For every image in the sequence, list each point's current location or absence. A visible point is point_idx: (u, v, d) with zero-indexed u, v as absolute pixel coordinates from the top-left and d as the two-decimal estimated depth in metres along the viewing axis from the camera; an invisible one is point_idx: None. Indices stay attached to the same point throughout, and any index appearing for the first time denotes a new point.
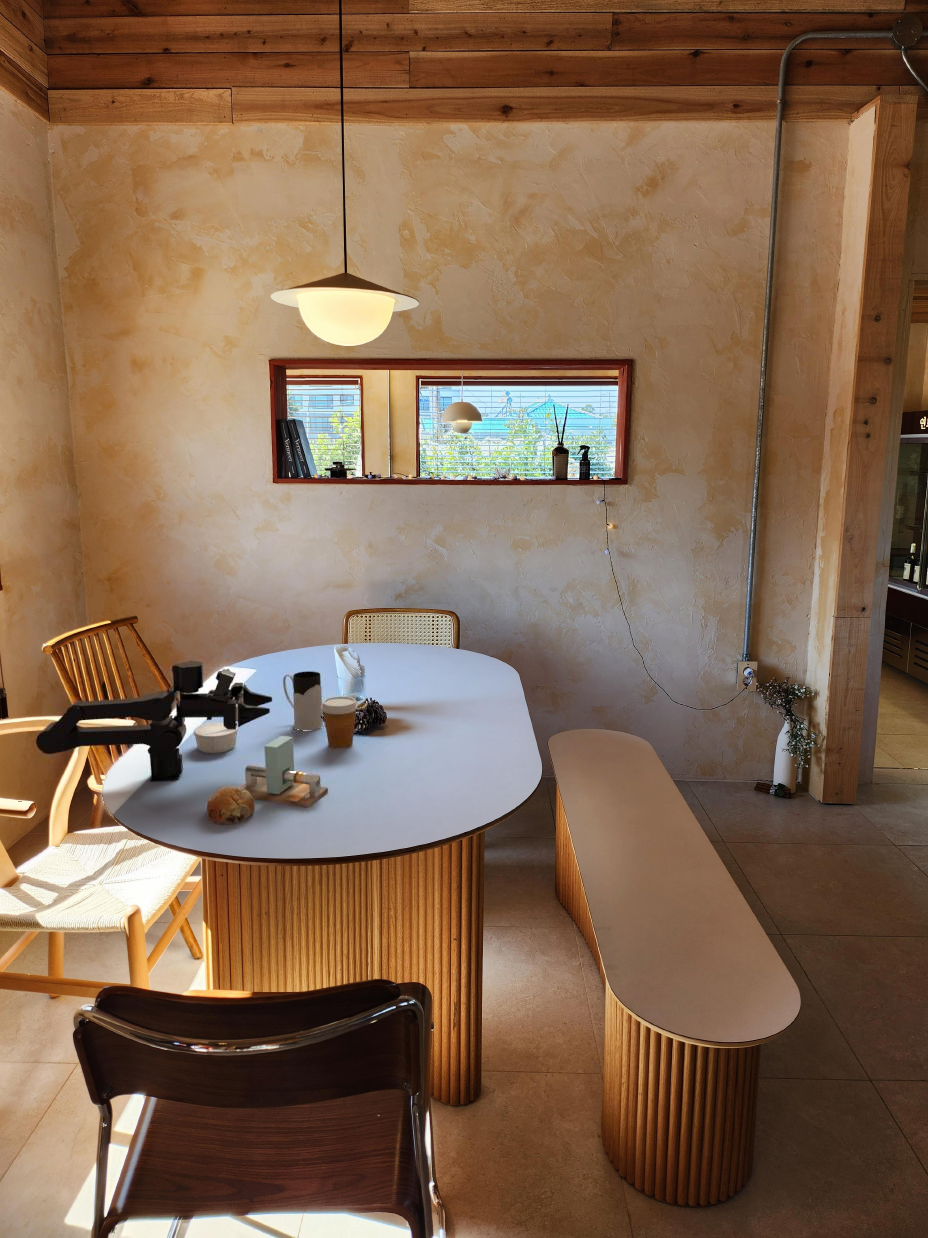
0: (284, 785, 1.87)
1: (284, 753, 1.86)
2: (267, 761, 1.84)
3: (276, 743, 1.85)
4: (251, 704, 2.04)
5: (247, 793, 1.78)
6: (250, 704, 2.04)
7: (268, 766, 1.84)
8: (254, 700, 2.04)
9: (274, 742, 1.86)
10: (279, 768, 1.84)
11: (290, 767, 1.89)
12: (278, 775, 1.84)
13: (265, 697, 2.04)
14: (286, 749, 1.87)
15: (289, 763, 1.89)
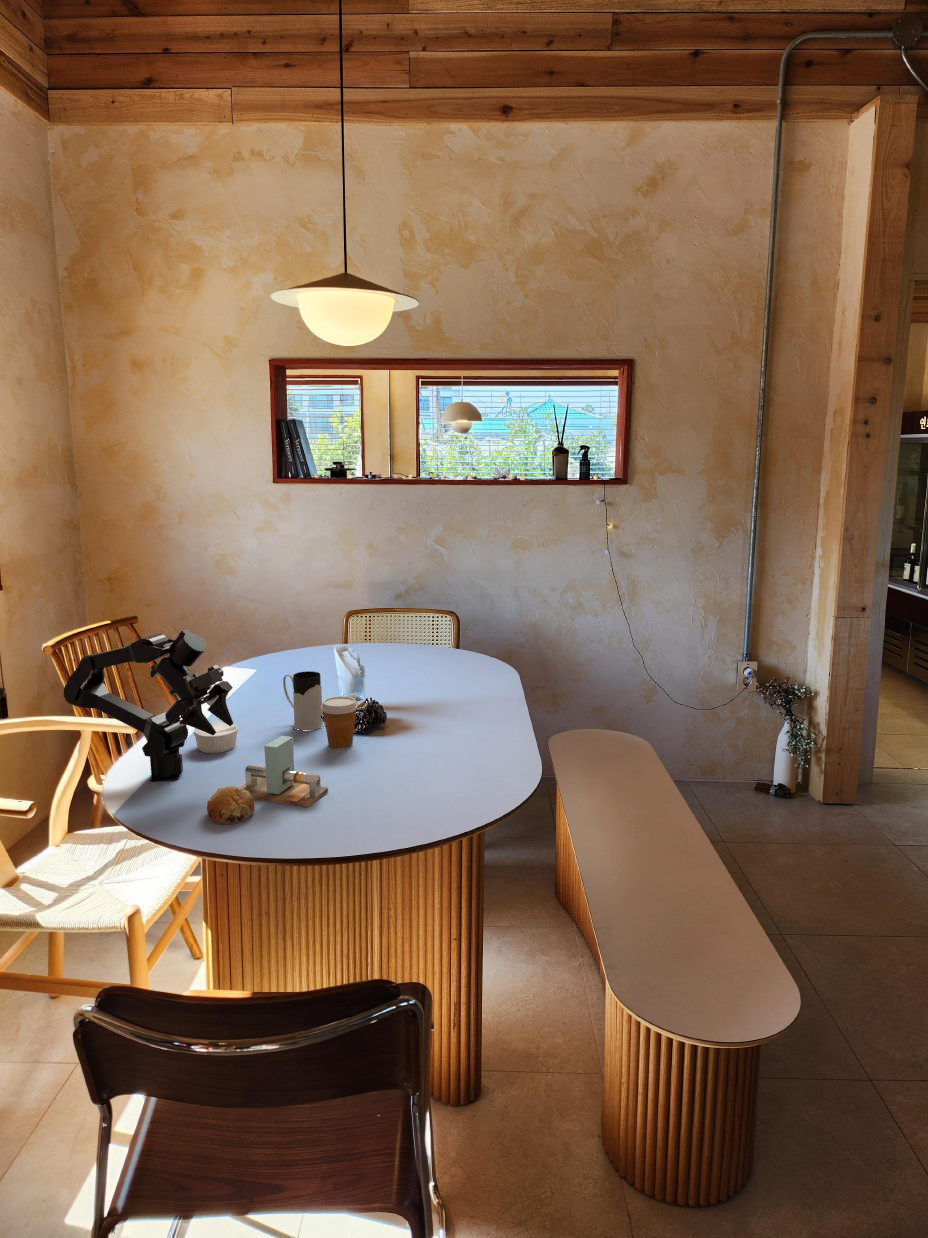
0: (284, 785, 1.87)
1: (284, 753, 1.86)
2: (267, 761, 1.84)
3: (276, 743, 1.85)
4: (215, 712, 1.95)
5: (247, 793, 1.78)
6: (215, 711, 1.95)
7: (268, 766, 1.84)
8: (219, 712, 1.95)
9: (274, 742, 1.86)
10: (279, 768, 1.84)
11: (290, 767, 1.89)
12: (278, 775, 1.84)
13: (228, 718, 1.94)
14: (286, 749, 1.87)
15: (289, 763, 1.89)
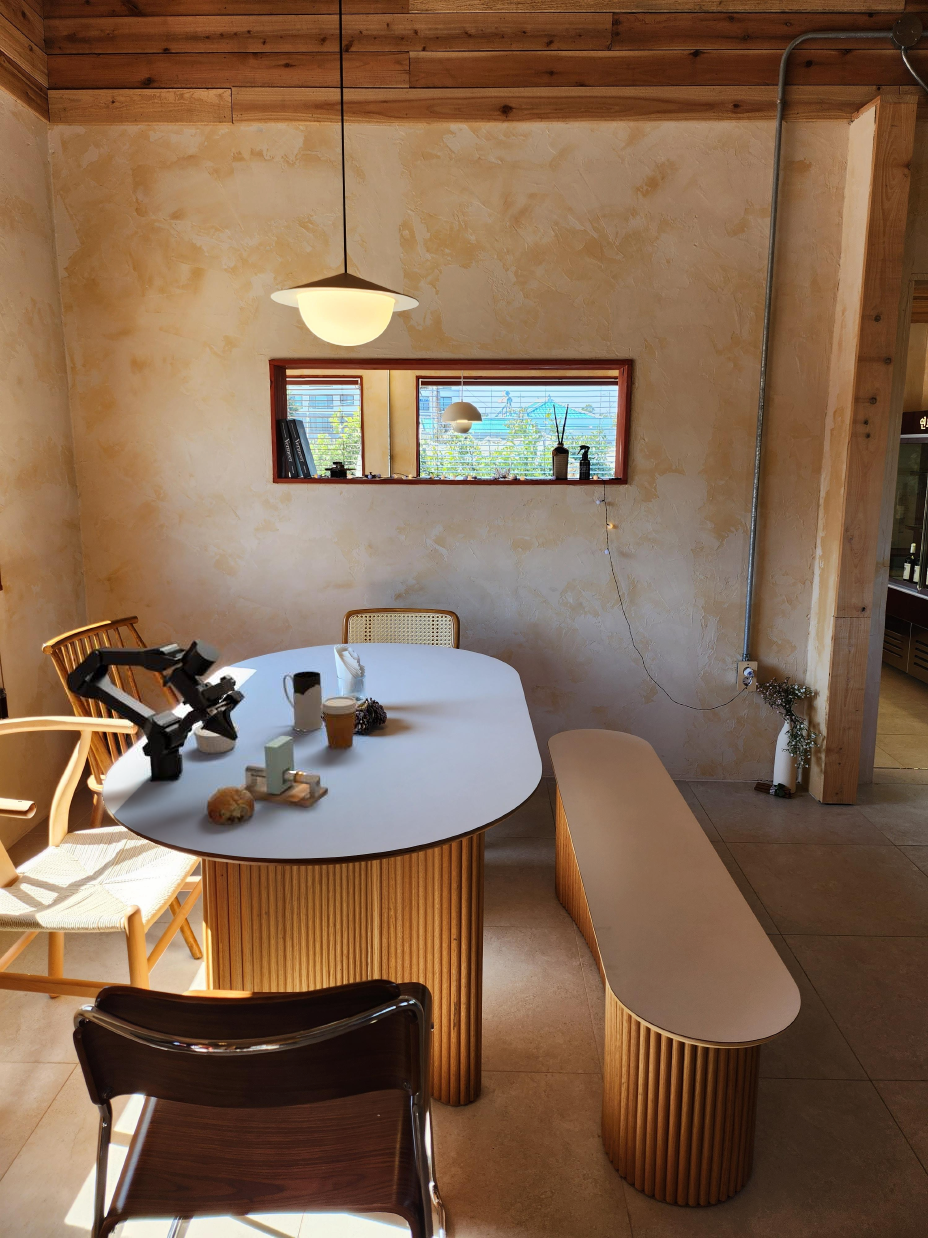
0: (284, 785, 1.87)
1: (284, 753, 1.86)
2: (267, 761, 1.84)
3: (276, 743, 1.85)
4: None
5: (247, 793, 1.78)
6: None
7: (268, 766, 1.84)
8: None
9: (274, 742, 1.86)
10: (279, 768, 1.84)
11: (290, 767, 1.89)
12: (278, 775, 1.84)
13: None
14: (286, 749, 1.87)
15: (289, 763, 1.89)
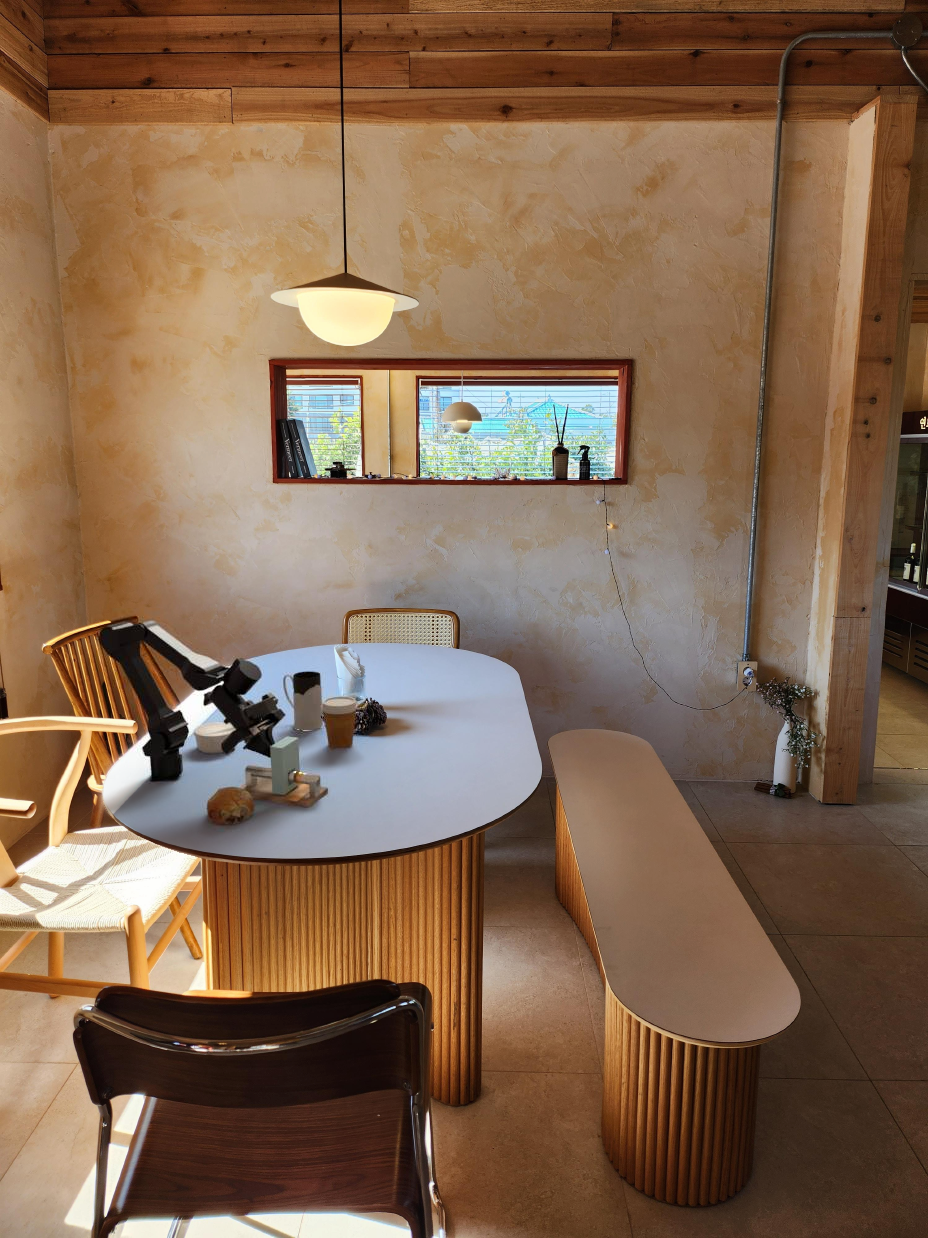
0: (290, 786, 1.87)
1: (289, 754, 1.86)
2: (273, 762, 1.84)
3: (281, 744, 1.85)
4: None
5: (247, 794, 1.77)
6: None
7: (274, 767, 1.84)
8: None
9: (280, 742, 1.86)
10: (284, 768, 1.84)
11: (296, 768, 1.89)
12: (283, 776, 1.84)
13: None
14: (292, 750, 1.86)
15: (295, 764, 1.88)
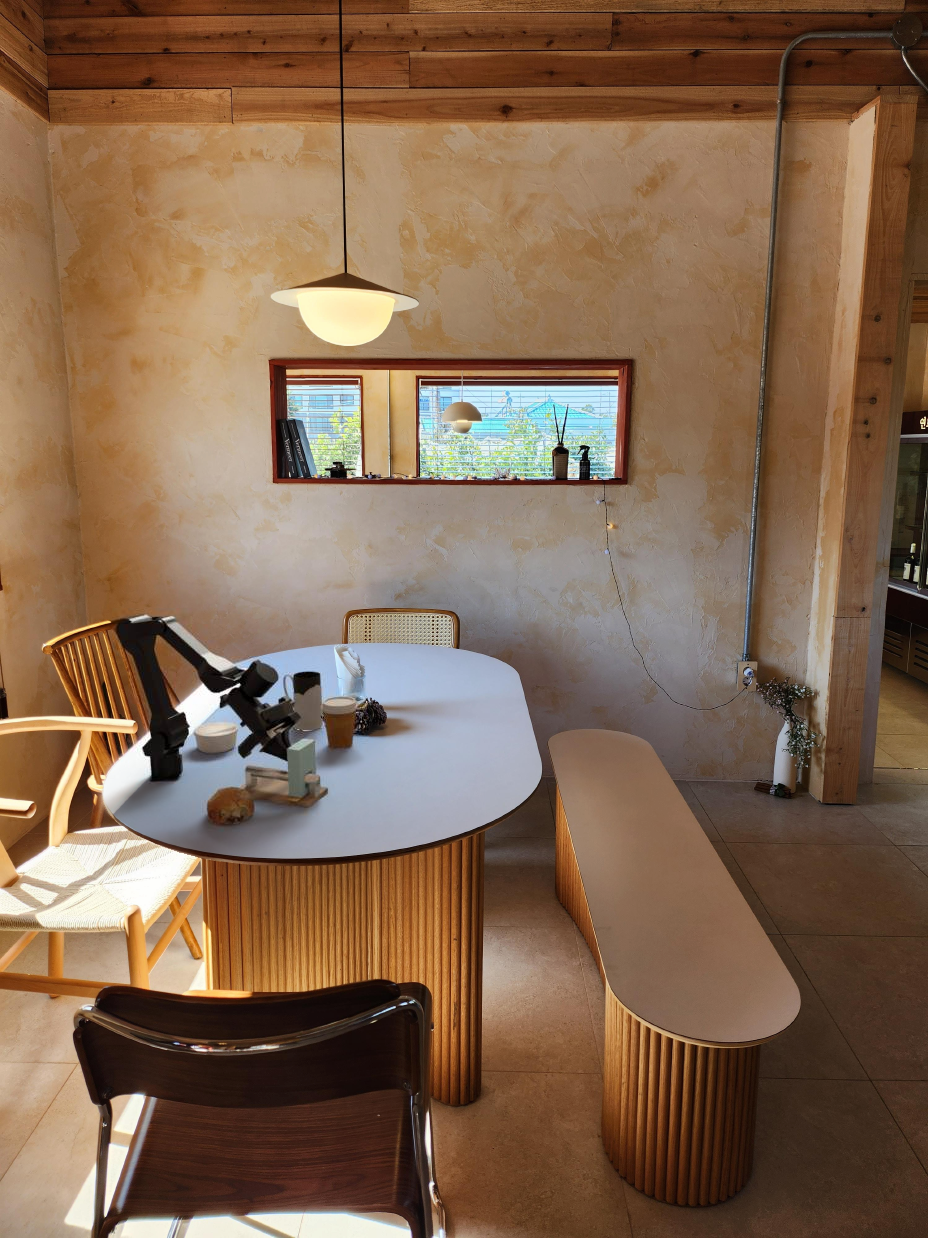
0: (306, 788, 1.85)
1: (306, 756, 1.84)
2: (289, 764, 1.82)
3: (298, 746, 1.84)
4: None
5: (247, 794, 1.77)
6: None
7: (290, 769, 1.83)
8: None
9: (297, 745, 1.84)
10: (301, 771, 1.83)
11: (312, 770, 1.87)
12: (300, 779, 1.82)
13: None
14: (308, 752, 1.85)
15: (311, 766, 1.87)
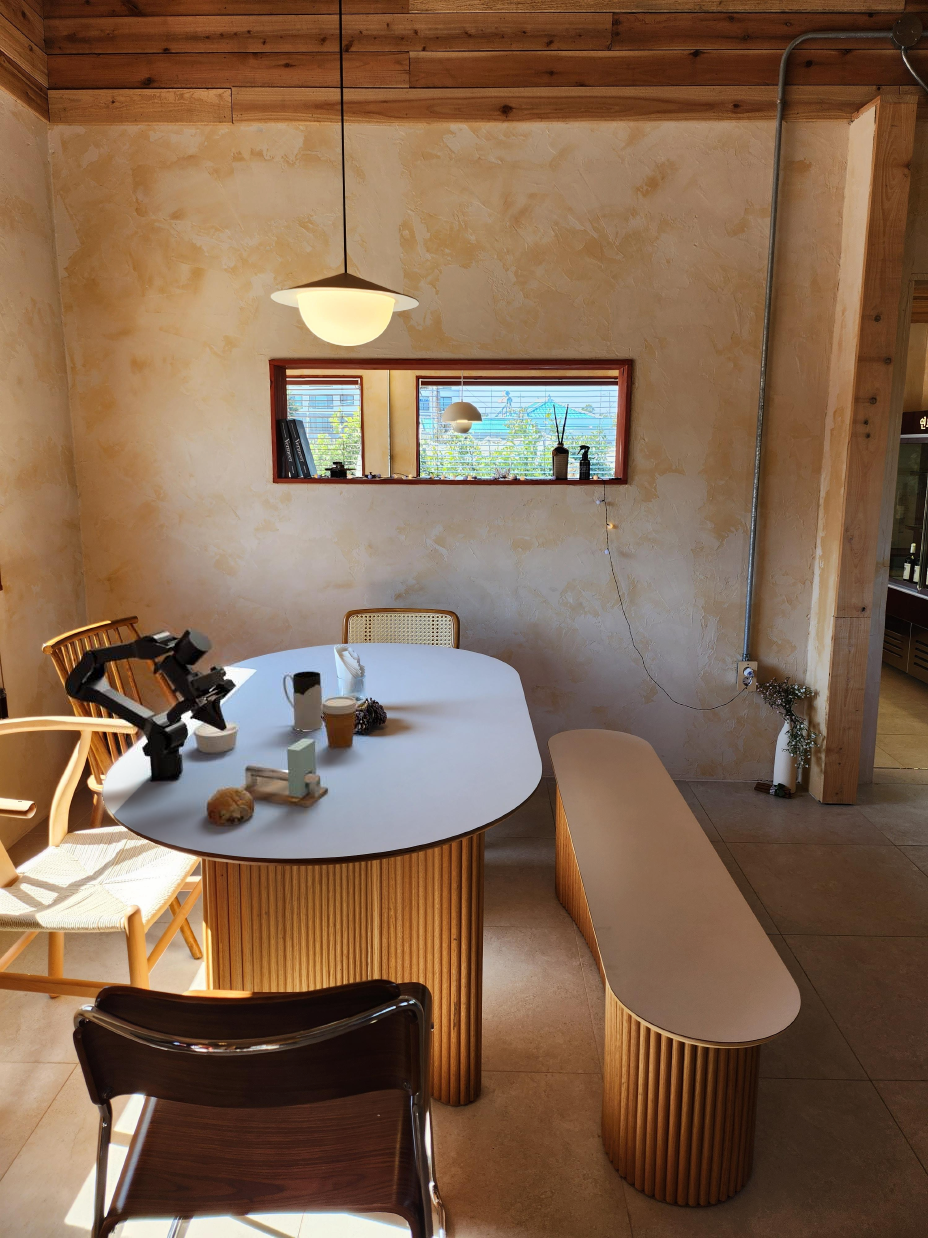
0: (306, 788, 1.85)
1: (306, 756, 1.84)
2: (289, 764, 1.82)
3: (298, 746, 1.84)
4: None
5: (247, 794, 1.77)
6: None
7: (290, 769, 1.83)
8: None
9: (297, 745, 1.84)
10: (301, 771, 1.83)
11: (312, 770, 1.87)
12: (300, 779, 1.82)
13: (221, 722, 1.91)
14: (308, 752, 1.85)
15: (311, 766, 1.87)
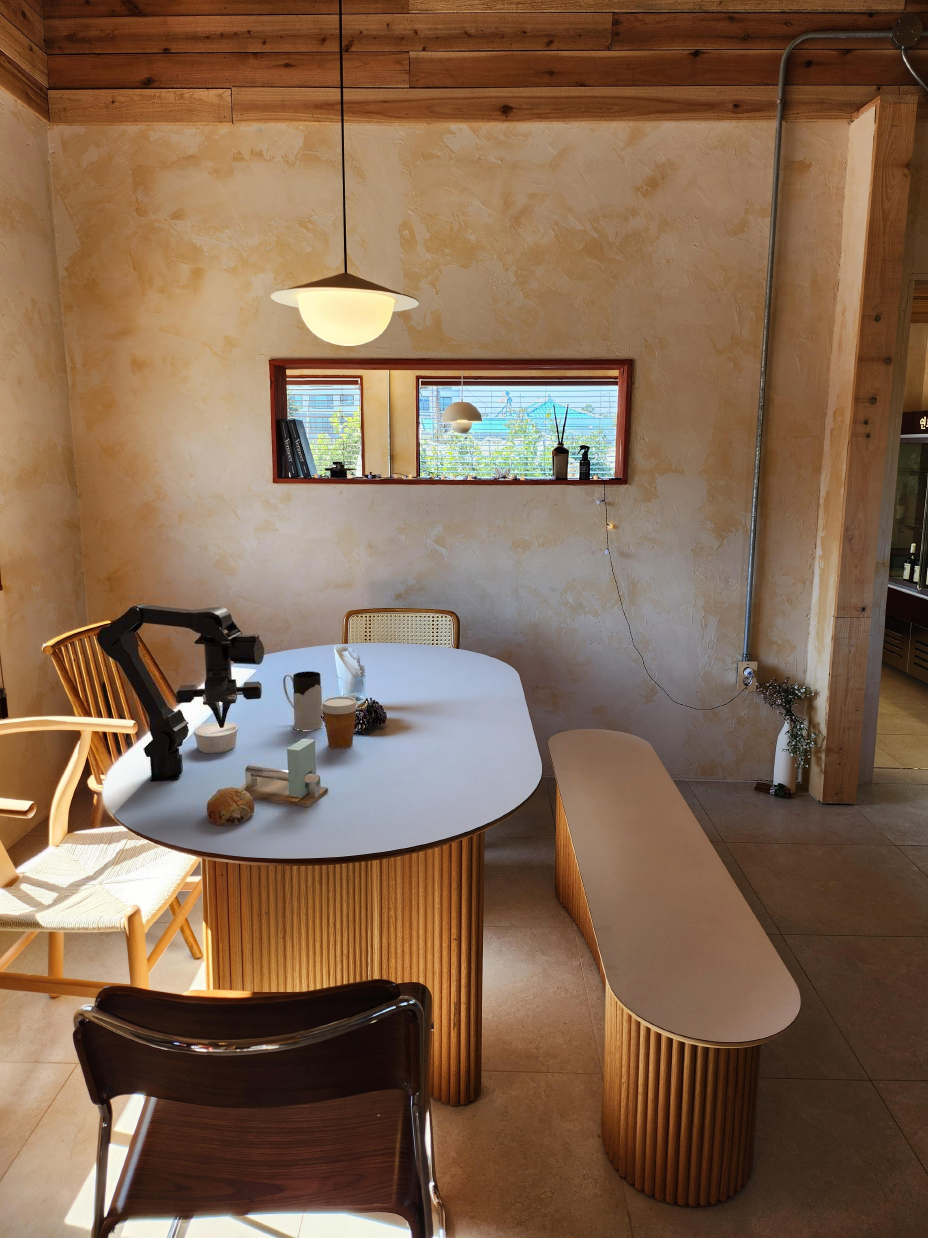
0: (306, 788, 1.85)
1: (306, 756, 1.84)
2: (289, 764, 1.82)
3: (298, 746, 1.84)
4: None
5: (247, 794, 1.77)
6: None
7: (290, 769, 1.83)
8: None
9: (297, 745, 1.84)
10: (301, 771, 1.83)
11: (312, 770, 1.87)
12: (300, 779, 1.82)
13: None
14: (308, 752, 1.85)
15: (311, 766, 1.87)
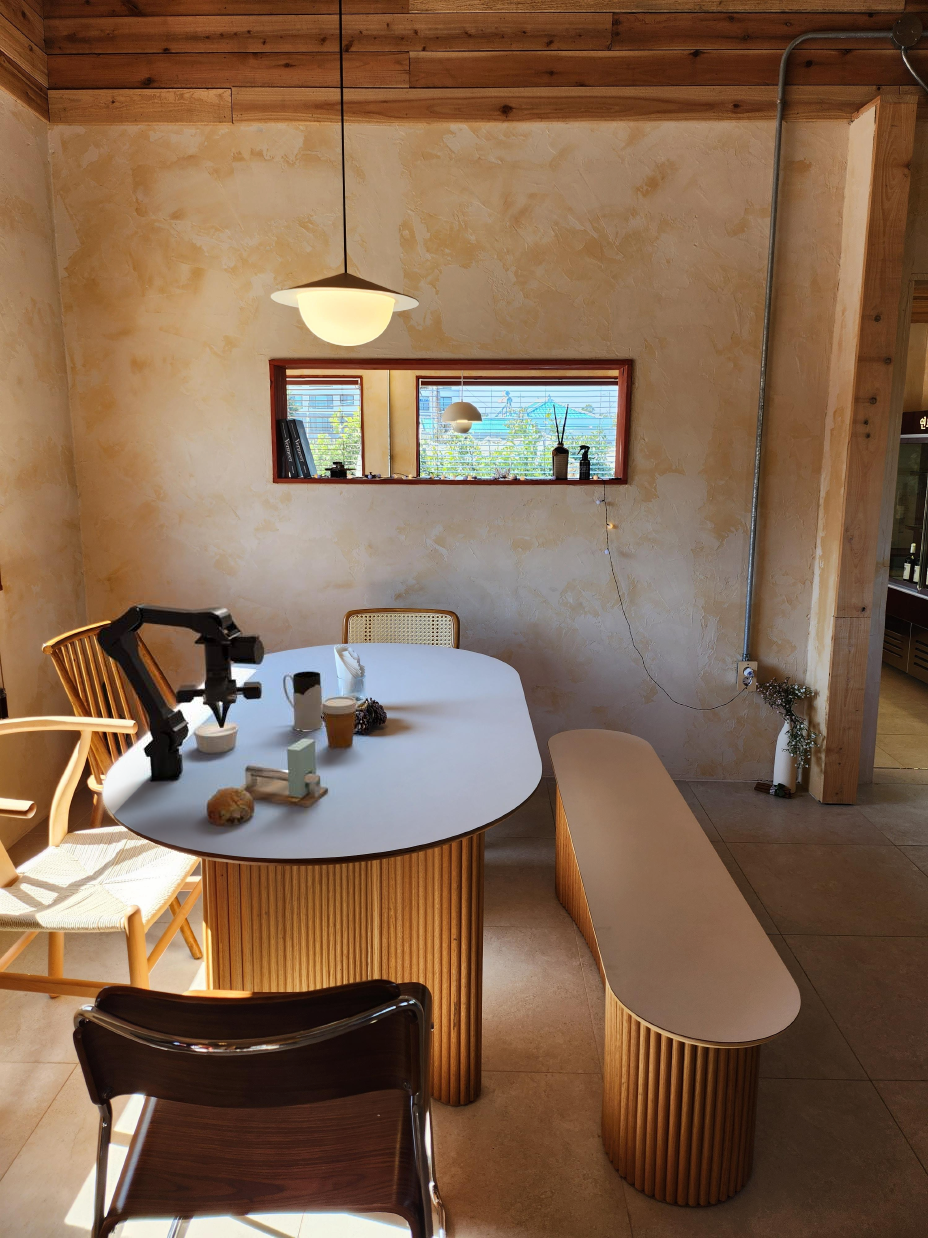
0: (306, 788, 1.85)
1: (306, 756, 1.84)
2: (289, 764, 1.82)
3: (298, 746, 1.84)
4: None
5: (247, 794, 1.77)
6: None
7: (290, 769, 1.83)
8: None
9: (297, 745, 1.84)
10: (301, 771, 1.83)
11: (312, 770, 1.87)
12: (300, 779, 1.82)
13: None
14: (308, 752, 1.85)
15: (311, 766, 1.87)
